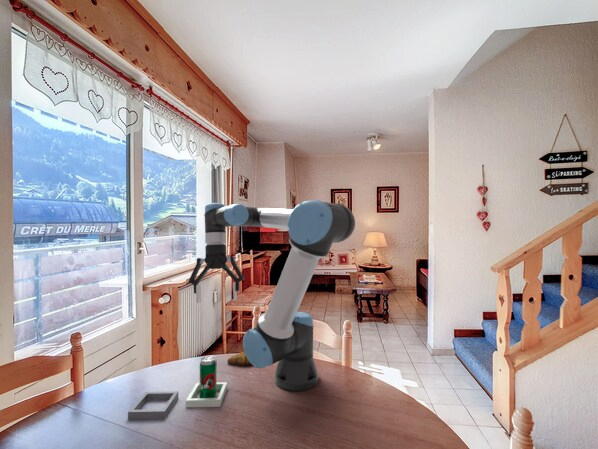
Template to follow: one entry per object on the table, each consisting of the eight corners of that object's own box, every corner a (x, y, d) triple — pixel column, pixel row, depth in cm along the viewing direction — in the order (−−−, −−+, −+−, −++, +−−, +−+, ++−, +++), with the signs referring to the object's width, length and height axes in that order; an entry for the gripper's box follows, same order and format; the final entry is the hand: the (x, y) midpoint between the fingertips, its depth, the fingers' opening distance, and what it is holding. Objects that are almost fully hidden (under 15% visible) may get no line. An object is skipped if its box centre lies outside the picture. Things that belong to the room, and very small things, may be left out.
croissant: (262, 359, 118) (262, 347, 118) (261, 367, 111) (261, 354, 111) (229, 360, 118) (229, 347, 118) (225, 368, 111) (225, 354, 111)
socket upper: (178, 397, 90) (178, 391, 90) (164, 418, 80) (164, 411, 80) (145, 398, 90) (145, 391, 90) (127, 419, 80) (127, 412, 80)
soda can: (219, 394, 92) (219, 356, 93) (209, 403, 88) (210, 363, 88) (206, 391, 94) (206, 354, 94) (195, 400, 89) (196, 360, 90)
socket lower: (227, 388, 96) (227, 382, 96) (220, 406, 86) (220, 399, 86) (196, 388, 95) (196, 382, 96) (185, 407, 85) (185, 400, 86)
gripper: (250, 243, 114) (252, 298, 112) (186, 246, 114) (187, 301, 112) (246, 242, 107) (248, 301, 105) (178, 245, 107) (179, 304, 104)
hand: (217, 301), depth 108 cm, fingers open, 13 cm apart
